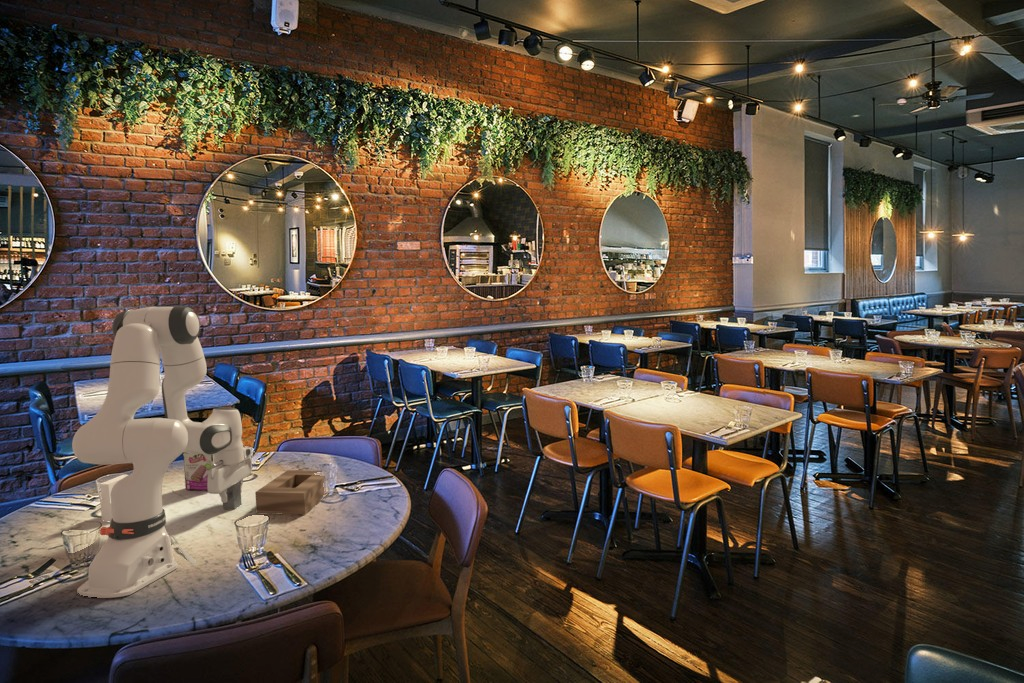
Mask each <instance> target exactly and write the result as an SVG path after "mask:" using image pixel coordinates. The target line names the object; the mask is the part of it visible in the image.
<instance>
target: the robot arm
mask: <svg viewBox="0 0 1024 683" xmlns="http://www.w3.org/2000/svg"><path fill="white" fill-rule="evenodd" d="M111 326H112V328H111V331H112V335H113V337H114V340H113V344H112V347H111V348H112V349H111V355H110V364H109V378H108V379H109V380H108V385H107V392H106V395H105V396H106V397H105V398H104V402H103V404H102V405H101V406H100V408H99V409H98V411H97V413H96V414H95V415H94V416H93V417H92V418H91V419H90V420H88V422H85V423H84V424H83V425H81V426H80V427H79V428H78V429H77V431H76V432H75V433H74V436H73V438H72V441H71V442H72V443H71V448H72V452H73V454H74V456H75V457H76V459H77V460H79V462H81V463H83V464H89V465H90V464H91V465H99V466H100V465H101V466H103V465H104V466H105V465H118V464H119V465H120V464H132V465H133V470H132V473H130V474H127V475H128V476H126V477H124V478H123V479H121V480H119V481H118V482H117V483H116V484H115V485H114V486H113V488H112V490H111V494H110V495H111V506H112V517H113V518H112V519H111V522H109V523H110V524H109V526H101V527H100V529H99V532H98V533H99V535H100V536H107V537H108V538H107V540H106V541H105V542H104V544H103V545H102V547H101V548H100V549H99V550H98V552H97V554H96V555H95V557H94V558H93V560H91V562H90V564H89V567H88V579H87V580H86V581H85V582H84V583H82V584H81V585H80V586H79V587H78V588H77V589H76V591H77V592H78V593H79V594H80V595H79V594H78V593H77V592H76V593H77V594H78V595H79V596H81V595H83V596H82V597H84V596H88V597H87V598H91V597H97V598H96V599H113V598H121V597H126V596H129V595H131V594H134V593H136V592H137V591H140V590H141V589H143V588H145V587H147V586H148V585H150V584H152V583H153V582H156V581H157V580H159V579H160V578H162V577H164V576H166V575H167V574H170V573H171V572H174V571H175V570H176V569H178V567H179V565H178V562H177V561H176V560H175V558H174V554H173V548H172V546H171V544H172V541H171V539H170V537H169V534H168V531H167V530H166V526H165V525H166V523H167V522H166V521H167V520H166V518H167V516H166V510H165V509H164V508H163V481H164V476H165V474H166V472H167V470H168V468H169V467H170V465H171V464H172V463H173V462H174V461H175V460H176V459H177V458H179V457H180V456H181V455H183V453H193V454H205V455H210V454H214V463H215V464H213V465H212V467H211V469H210V470H209V472H208V483H207V487H208V490H207V492H208V494H210V495H218V494H219V497H220V500H221V501H220V502H221V503H222V504H223V503H226V502H227V501H229V496H227V494H226V492H227V488H229V487H231V486H232V485H234V484H235V483H237V482H239V481H240V487H241V493H242V487H243V484H244V479H245V478H247V477H249V476H250V475H252V471H253V462H252V454H253V452H252V447H244V442H243V440H242V436H243V425H242V424H243V423H242V416H241V413H240V411H239V409H237V408H235V407H231V406H230V407H229V406H228V407H227V406H226V407H225V406H219V407H214V408H213V409H212V412H211V414H210V415H209V416H208V417H207V419H205V420H203V421H202V422H199V421H193V420H191V419H190V417H189V416H188V411H187V403H186V392H187V391H188V390H190V389H193V388H194V387H196V386H197V385H199V384H200V383H201V382H202V381H203V380H204V379H205V377H206V375H207V371H208V370H207V361H206V358H205V355H204V350H203V347H202V345H201V342H200V339H199V337H198V336H199V335H200V332H201V321H200V318H199V315H198V313H197V312H196V311H195V310H194V309H193V308H191V307H189V306H184V305H176V306H149V307H148V306H146V307H141V308H136V309H133V308H132V309H131V308H130V309H127V310H123V311H121V312H119V313H117V315H116V317H114V318H113V321H112V325H111ZM161 363H162V366H163V371H164V372H163V373H164V377H163V379H162V382H161V397H162V404H163V410H164V416H165V417H164V418H163V417H151V418H149V417H148V418H146V417H145V418H134V417H135V415H136V413H137V411H138V410H139V409H140V408H141V407H143V406H145V405H147V404H149V403H151V402H152V401H154V399H156V397H157V396H158V394H159V392H160V376H161V374H160V373H161Z"/></svg>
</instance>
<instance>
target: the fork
mask: <svg viewBox="0 0 1024 683" xmlns="http://www.w3.org/2000/svg"><path fill="white" fill-rule="evenodd" d="M168 535H169V534H168ZM169 537H170V541H171V543H176V544H178V543H180V542H179V541H178V540H177V538H176V537H175V536H174V535H173V534H171V535H169ZM174 548H175V549H174V550H176V549H178V550H180V552H181V553H182V555H183V556H184V558H185V559H186V560H187V562H188V563H190V564H193V565H194V564H197V562H198V561H197V560H196V559H195V558H194V557H193V556H191V554H189V553H188V552H187V551H186V550H185V549H184V548H183V547H182V546H181V547H179V546H176V547H174Z"/></svg>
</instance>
